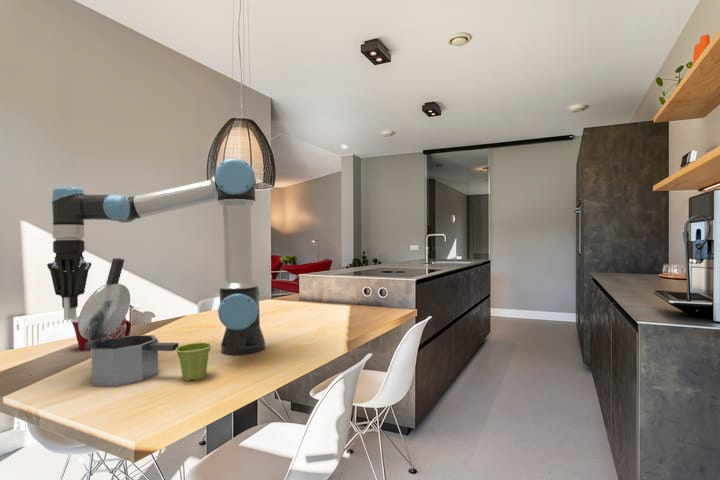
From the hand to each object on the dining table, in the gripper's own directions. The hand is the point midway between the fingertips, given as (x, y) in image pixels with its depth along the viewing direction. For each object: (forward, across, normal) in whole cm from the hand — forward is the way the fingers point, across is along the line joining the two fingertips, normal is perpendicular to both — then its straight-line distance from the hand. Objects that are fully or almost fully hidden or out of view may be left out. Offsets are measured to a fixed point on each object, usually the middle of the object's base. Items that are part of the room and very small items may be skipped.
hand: (70, 318), depth 116 cm
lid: (-5, -14, 0) cm, 15 cm away
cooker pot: (+17, -20, 0) cm, 26 cm away
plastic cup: (+17, +20, -27) cm, 38 cm away
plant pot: (+17, -39, -1) cm, 43 cm away
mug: (+17, 0, -17) cm, 24 cm away
